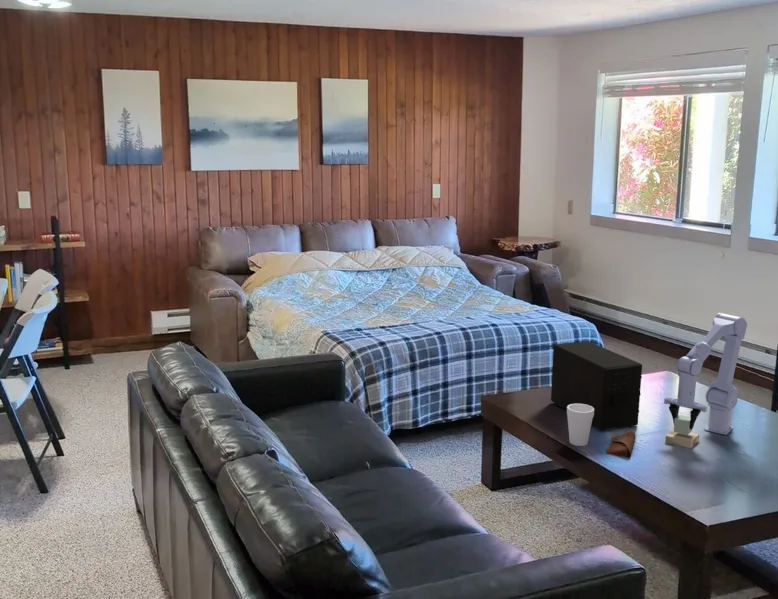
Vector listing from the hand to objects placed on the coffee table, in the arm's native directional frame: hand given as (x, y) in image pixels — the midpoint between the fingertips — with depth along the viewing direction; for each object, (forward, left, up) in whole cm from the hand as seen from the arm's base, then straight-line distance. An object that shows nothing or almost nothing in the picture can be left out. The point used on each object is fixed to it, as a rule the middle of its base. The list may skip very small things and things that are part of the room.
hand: (683, 426), depth 284 cm
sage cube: (0, 0, -2) cm, 2 cm away
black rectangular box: (-7, -35, -6) cm, 36 cm away
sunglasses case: (+19, -15, -6) cm, 25 cm away
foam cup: (+24, -29, -6) cm, 38 cm away
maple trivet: (0, 0, -6) cm, 6 cm away
